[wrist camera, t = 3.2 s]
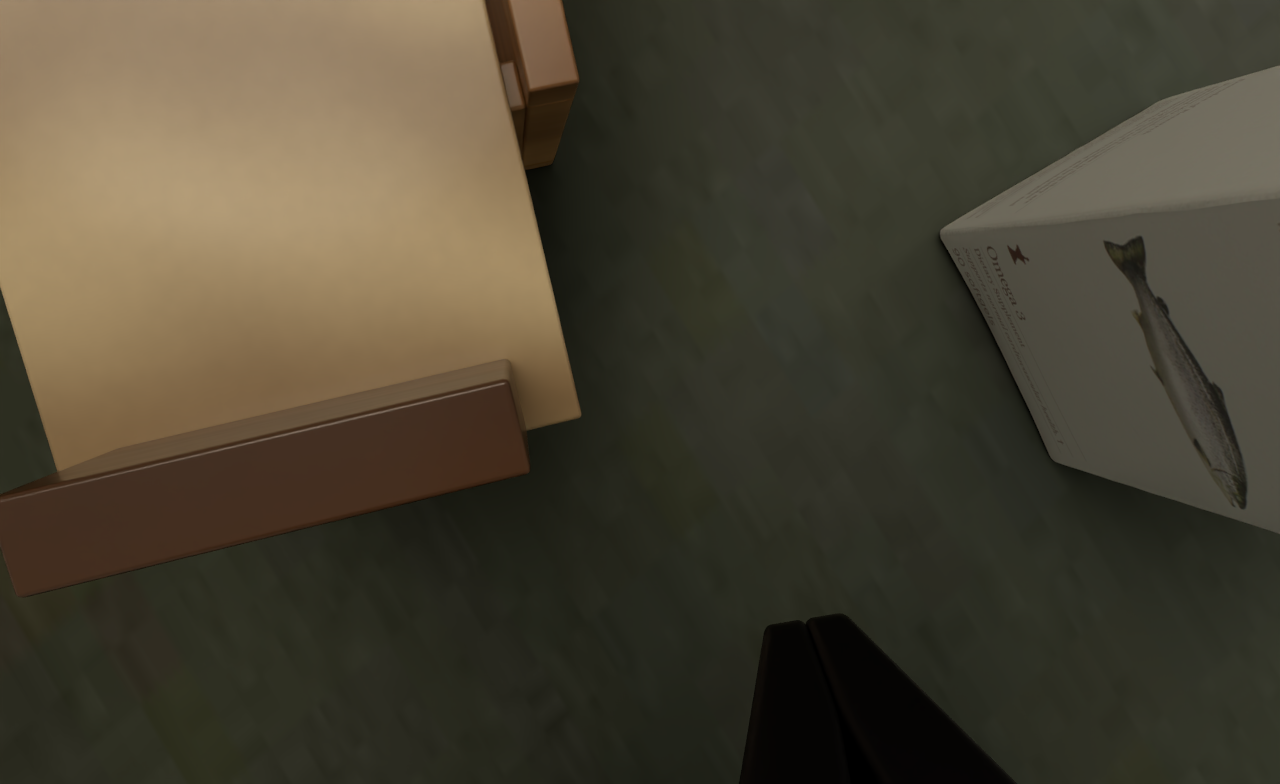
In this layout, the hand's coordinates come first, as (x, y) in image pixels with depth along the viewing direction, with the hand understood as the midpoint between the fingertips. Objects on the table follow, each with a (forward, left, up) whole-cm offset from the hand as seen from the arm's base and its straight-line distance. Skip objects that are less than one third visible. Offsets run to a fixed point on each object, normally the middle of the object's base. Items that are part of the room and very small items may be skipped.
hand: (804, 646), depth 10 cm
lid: (+3, +9, -6) cm, 12 cm away
